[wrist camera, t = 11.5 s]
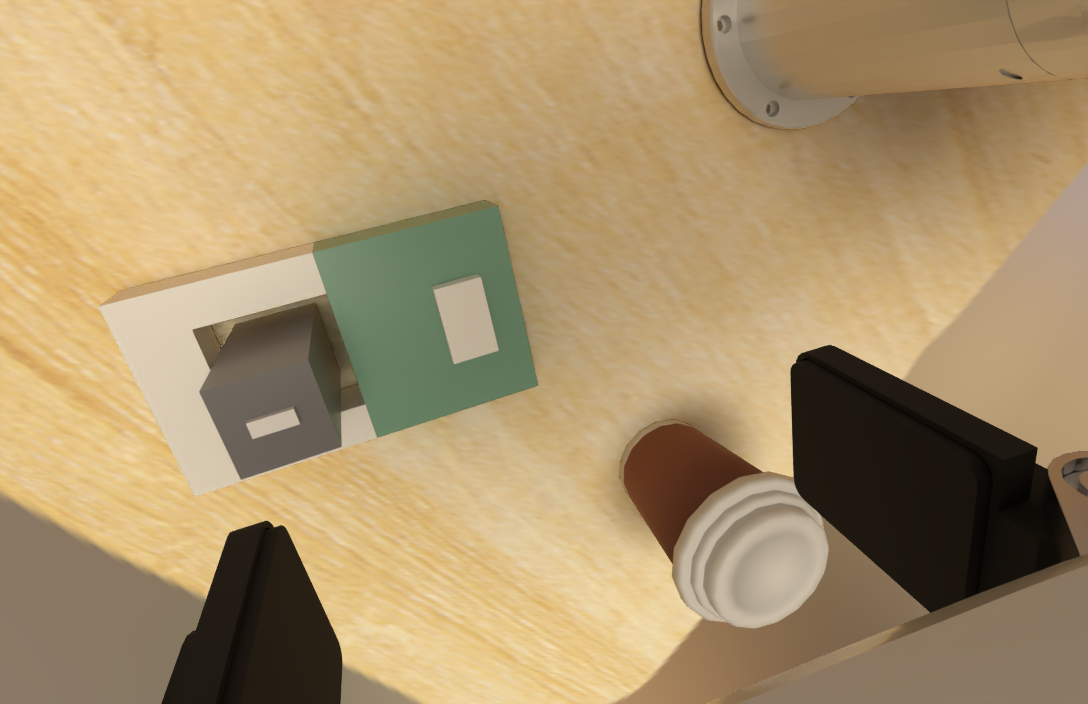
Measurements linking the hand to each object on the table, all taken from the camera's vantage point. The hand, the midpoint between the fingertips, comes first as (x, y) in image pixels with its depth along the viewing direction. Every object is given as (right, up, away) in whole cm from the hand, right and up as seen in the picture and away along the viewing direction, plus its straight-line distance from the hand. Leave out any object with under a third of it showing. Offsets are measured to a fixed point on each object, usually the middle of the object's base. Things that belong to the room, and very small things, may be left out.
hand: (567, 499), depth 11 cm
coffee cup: (+8, -5, +31) cm, 33 cm away
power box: (-11, +4, +22) cm, 25 cm away
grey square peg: (-14, +3, +21) cm, 25 cm away
